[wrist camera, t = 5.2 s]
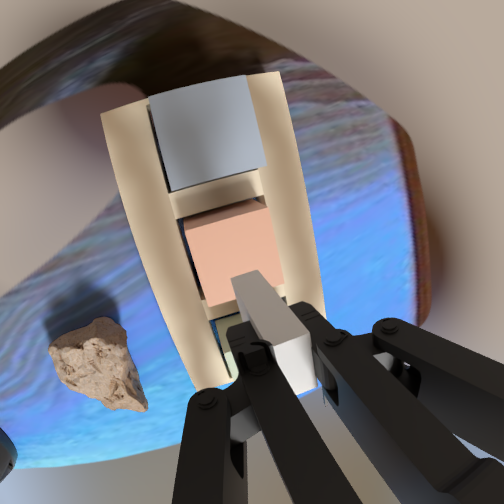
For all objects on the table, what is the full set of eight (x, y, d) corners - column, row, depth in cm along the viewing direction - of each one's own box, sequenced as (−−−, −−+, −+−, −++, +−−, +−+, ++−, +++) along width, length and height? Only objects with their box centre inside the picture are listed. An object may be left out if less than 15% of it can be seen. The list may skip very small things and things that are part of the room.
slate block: (173, 185, 22) (171, 191, 17) (154, 110, 20) (148, 96, 15) (249, 164, 23) (267, 165, 18) (231, 91, 21) (245, 74, 16)
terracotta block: (202, 282, 27) (208, 307, 22) (183, 217, 25) (184, 231, 20) (266, 262, 28) (284, 283, 23) (251, 198, 26) (268, 207, 21)
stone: (128, 309, 27) (120, 336, 22) (152, 396, 30) (151, 428, 26) (48, 314, 25) (31, 340, 20) (82, 398, 28) (74, 428, 24)
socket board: (194, 373, 30) (197, 391, 27) (108, 119, 22) (100, 113, 19) (317, 332, 32) (329, 347, 30) (268, 80, 24) (279, 71, 21)
